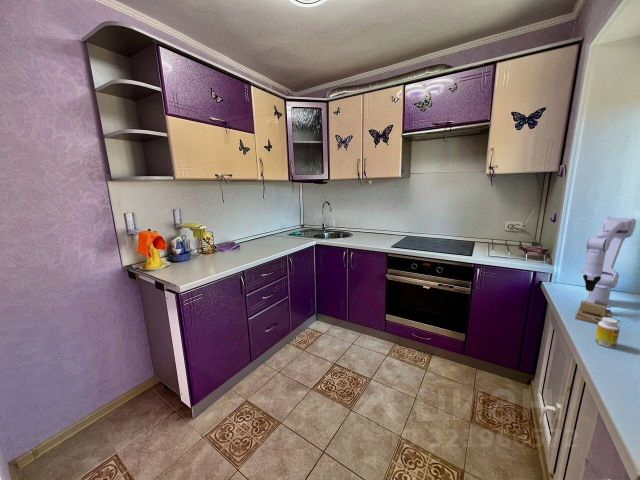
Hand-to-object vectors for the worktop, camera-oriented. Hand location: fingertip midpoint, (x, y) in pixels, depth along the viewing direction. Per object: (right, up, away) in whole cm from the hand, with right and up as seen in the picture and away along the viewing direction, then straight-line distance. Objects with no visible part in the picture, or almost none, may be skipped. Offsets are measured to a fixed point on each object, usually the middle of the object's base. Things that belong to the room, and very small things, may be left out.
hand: (589, 290), depth 124 cm
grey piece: (0, -10, -4) cm, 11 cm away
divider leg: (-2, -10, -3) cm, 11 cm away
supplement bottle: (-18, -16, -23) cm, 33 cm away
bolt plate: (-1, -11, -3) cm, 11 cm away
